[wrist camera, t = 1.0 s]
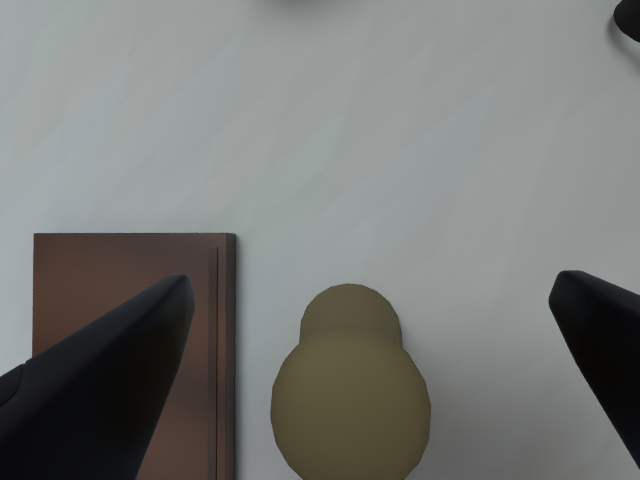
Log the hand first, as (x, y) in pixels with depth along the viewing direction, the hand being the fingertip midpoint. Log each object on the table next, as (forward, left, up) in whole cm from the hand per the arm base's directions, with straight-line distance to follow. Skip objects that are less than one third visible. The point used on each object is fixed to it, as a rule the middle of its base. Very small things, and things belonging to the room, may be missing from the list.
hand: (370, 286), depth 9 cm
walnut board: (-7, +14, -12) cm, 20 cm away
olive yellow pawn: (-4, +1, -12) cm, 13 cm away
